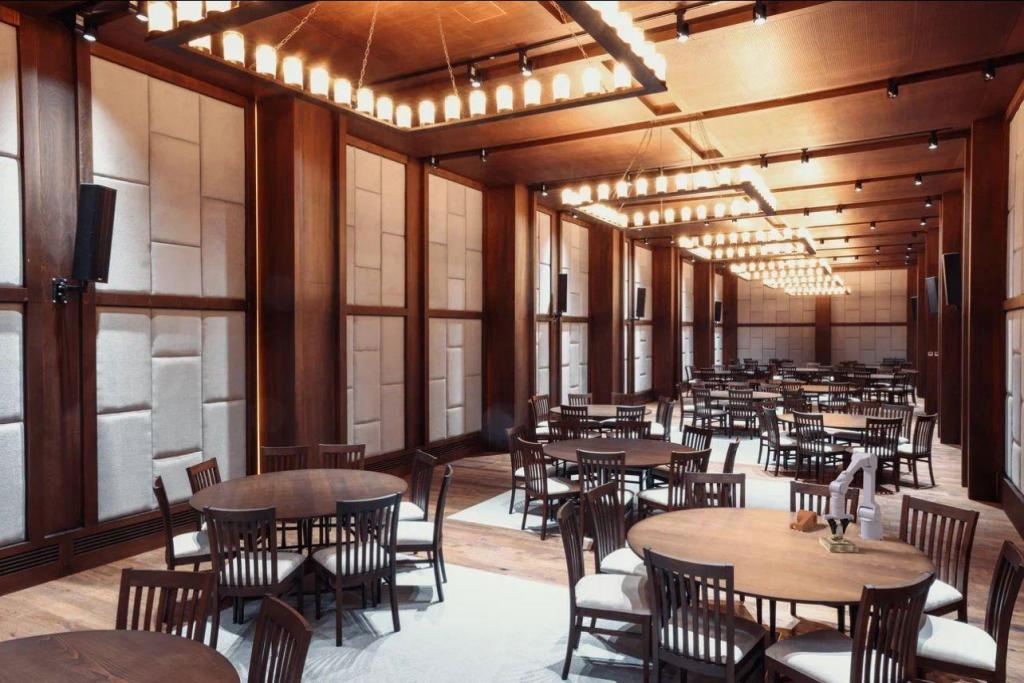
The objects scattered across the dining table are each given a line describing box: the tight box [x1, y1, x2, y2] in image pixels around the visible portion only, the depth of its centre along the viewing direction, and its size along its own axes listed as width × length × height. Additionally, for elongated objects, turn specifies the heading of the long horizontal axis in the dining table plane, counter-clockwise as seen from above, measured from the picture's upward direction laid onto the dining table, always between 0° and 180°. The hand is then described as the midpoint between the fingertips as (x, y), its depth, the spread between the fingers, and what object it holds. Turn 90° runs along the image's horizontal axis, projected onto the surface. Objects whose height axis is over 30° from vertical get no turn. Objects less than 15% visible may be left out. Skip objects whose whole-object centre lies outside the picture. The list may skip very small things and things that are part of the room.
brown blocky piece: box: [789, 509, 819, 532], centre depth 368 cm, size 20×8×8 cm, turn 135°
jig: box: [818, 536, 859, 554], centre depth 331 cm, size 13×14×4 cm
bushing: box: [833, 522, 844, 540], centre depth 334 cm, size 4×4×7 cm
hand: (838, 534), depth 334 cm, fingers closed on bushing, 4 cm apart
